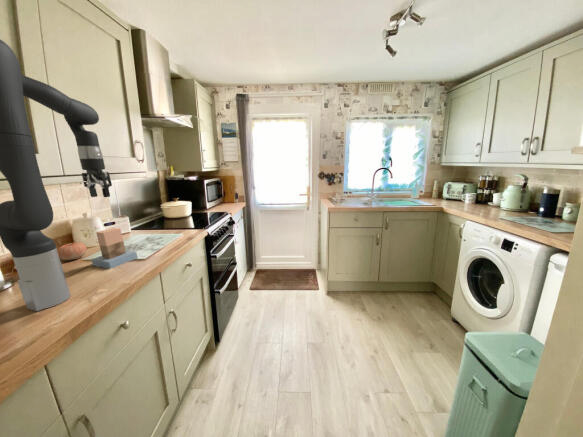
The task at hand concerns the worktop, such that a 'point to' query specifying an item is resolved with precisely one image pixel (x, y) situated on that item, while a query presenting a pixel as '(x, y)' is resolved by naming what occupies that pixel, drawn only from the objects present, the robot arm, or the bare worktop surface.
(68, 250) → the reddish brown rounded lump
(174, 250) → the worktop surface
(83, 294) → the worktop surface
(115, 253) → the walnut brick
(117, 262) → the base plate
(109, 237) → the terracotta brick
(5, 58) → the robot arm
